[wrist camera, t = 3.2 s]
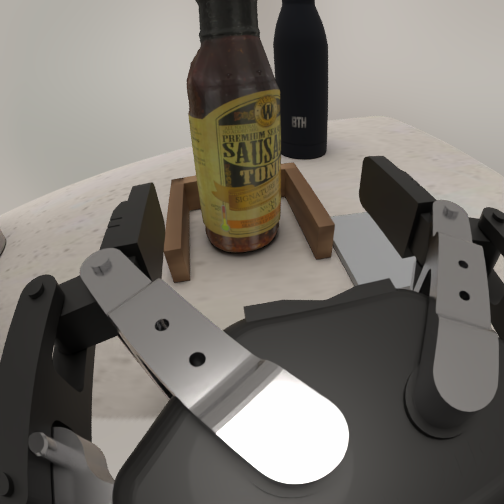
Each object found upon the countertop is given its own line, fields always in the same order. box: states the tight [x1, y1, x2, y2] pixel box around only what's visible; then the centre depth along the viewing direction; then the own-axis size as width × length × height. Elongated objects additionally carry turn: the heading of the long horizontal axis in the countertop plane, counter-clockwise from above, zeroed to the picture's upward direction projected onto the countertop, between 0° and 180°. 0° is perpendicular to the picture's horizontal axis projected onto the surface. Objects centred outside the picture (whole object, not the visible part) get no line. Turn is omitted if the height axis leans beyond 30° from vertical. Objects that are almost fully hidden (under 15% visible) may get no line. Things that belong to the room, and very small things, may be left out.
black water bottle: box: [273, 0, 328, 159], centre depth 29 cm, size 6×6×30 cm
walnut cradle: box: [164, 163, 335, 282], centre depth 25 cm, size 12×11×3 cm
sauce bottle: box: [187, 0, 281, 252], centre depth 19 cm, size 7×6×20 cm
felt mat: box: [331, 212, 416, 290], centre depth 23 cm, size 10×9×1 cm
